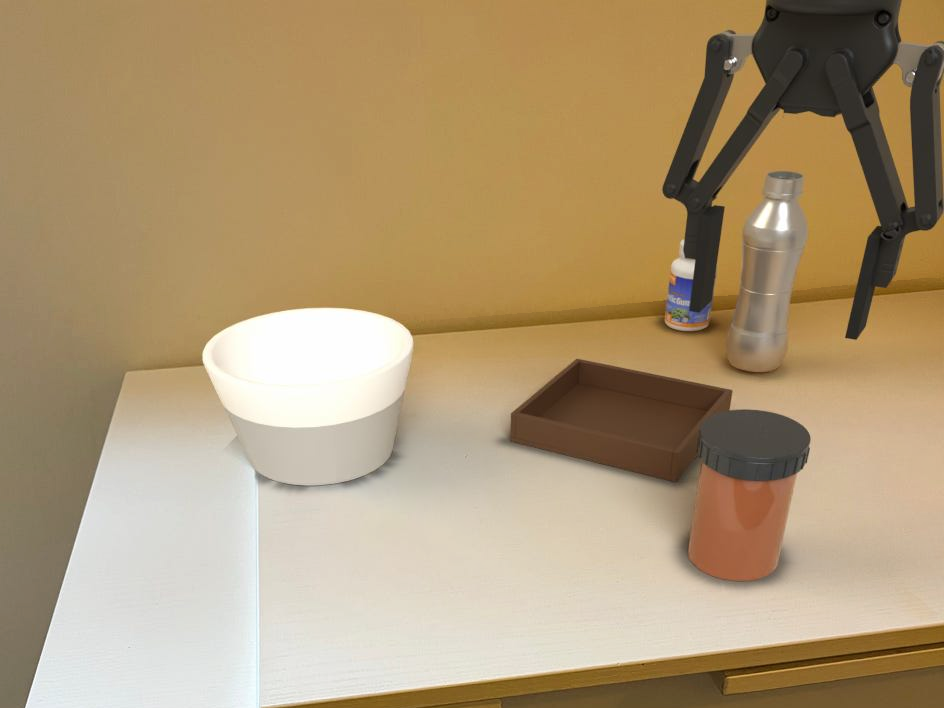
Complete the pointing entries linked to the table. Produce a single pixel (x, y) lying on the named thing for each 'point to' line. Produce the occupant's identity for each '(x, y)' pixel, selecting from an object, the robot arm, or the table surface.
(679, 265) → the pill bottle
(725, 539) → the jam jar
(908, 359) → the table surface
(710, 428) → the jar lid
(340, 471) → the bowl
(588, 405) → the tray
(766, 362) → the silver bottle
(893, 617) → the table surface
